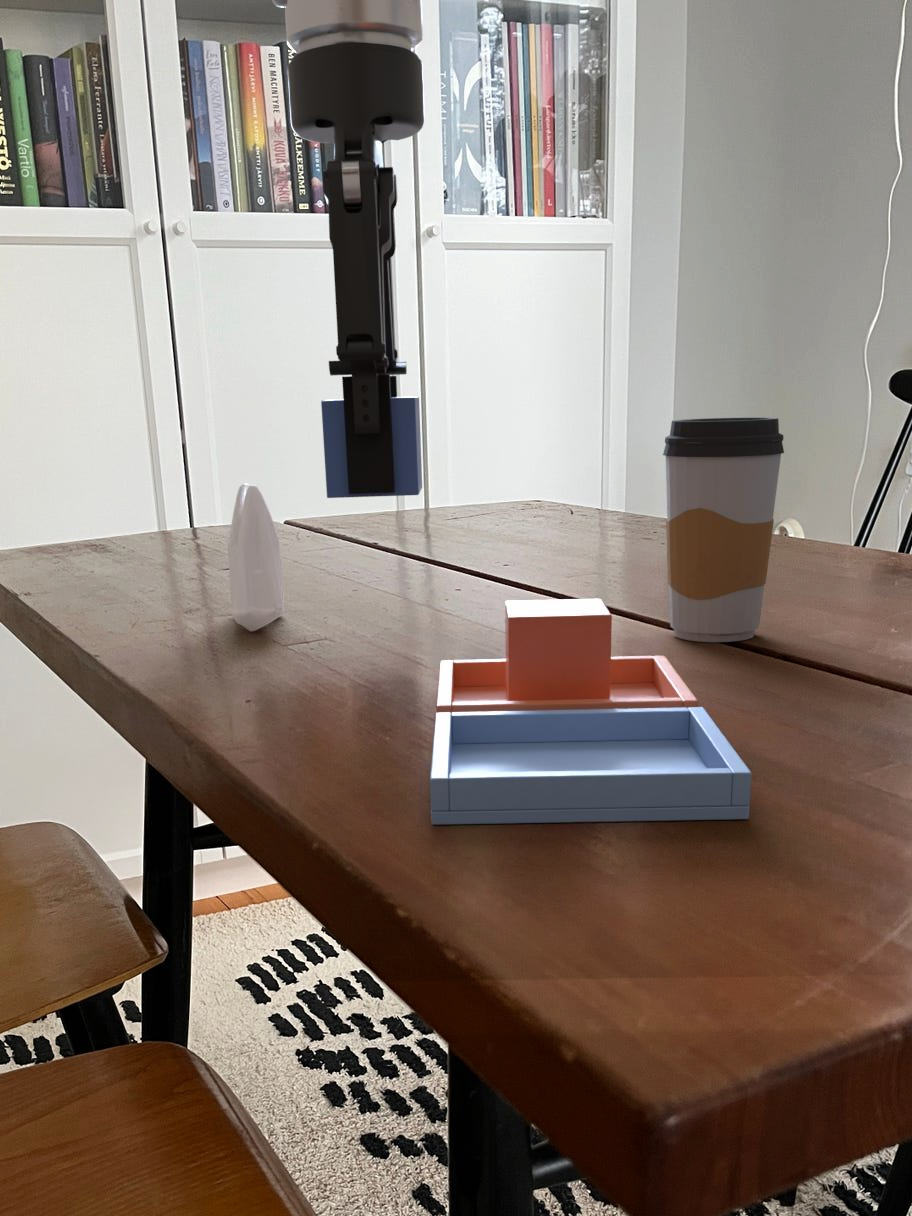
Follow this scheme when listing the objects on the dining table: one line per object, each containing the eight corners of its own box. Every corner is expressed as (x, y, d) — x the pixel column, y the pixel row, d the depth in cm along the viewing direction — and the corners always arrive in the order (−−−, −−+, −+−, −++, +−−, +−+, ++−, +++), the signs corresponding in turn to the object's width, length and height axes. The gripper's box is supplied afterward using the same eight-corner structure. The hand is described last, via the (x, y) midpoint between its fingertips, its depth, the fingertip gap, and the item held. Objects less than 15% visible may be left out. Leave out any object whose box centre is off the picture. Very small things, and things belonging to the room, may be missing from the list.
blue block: (422, 488, 80) (419, 396, 78) (418, 495, 75) (415, 397, 73) (336, 491, 81) (331, 399, 79) (326, 498, 75) (320, 400, 74)
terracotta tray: (663, 689, 77) (665, 655, 76) (696, 739, 66) (698, 700, 65) (441, 694, 77) (440, 660, 77) (437, 744, 66) (436, 705, 66)
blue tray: (701, 746, 65) (703, 706, 64) (749, 819, 54) (752, 772, 53) (436, 751, 65) (435, 712, 64) (431, 825, 54) (430, 778, 54)
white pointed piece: (286, 635, 97) (277, 486, 93) (232, 638, 97) (219, 488, 93) (284, 610, 108) (276, 476, 104) (235, 612, 108) (224, 478, 104)
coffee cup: (788, 629, 94) (803, 416, 89) (747, 649, 87) (760, 421, 82) (684, 621, 98) (692, 417, 93) (637, 639, 92) (643, 422, 87)
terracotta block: (599, 692, 74) (601, 598, 72) (609, 715, 69) (611, 614, 67) (505, 694, 74) (505, 600, 72) (509, 717, 69) (508, 617, 67)
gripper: (308, 93, 79) (331, 480, 87) (260, 10, 61) (295, 503, 69) (428, 87, 78) (440, 476, 86) (414, 2, 61) (431, 499, 69)
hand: (375, 488), depth 78 cm, fingers closed on blue block, 5 cm apart
